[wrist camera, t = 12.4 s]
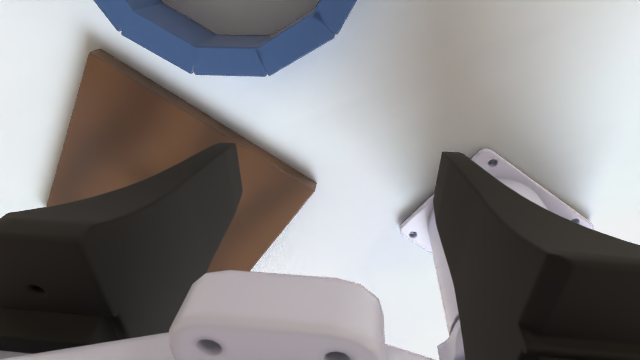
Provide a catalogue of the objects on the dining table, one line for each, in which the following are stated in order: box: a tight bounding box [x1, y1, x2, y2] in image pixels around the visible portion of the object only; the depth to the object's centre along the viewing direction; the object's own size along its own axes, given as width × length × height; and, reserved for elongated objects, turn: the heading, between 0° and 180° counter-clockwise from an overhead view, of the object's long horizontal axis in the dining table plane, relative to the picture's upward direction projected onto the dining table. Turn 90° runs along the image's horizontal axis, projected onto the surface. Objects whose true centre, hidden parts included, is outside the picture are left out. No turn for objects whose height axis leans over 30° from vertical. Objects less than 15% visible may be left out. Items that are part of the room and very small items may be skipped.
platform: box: [47, 49, 317, 273], centre depth 25 cm, size 15×15×4 cm
